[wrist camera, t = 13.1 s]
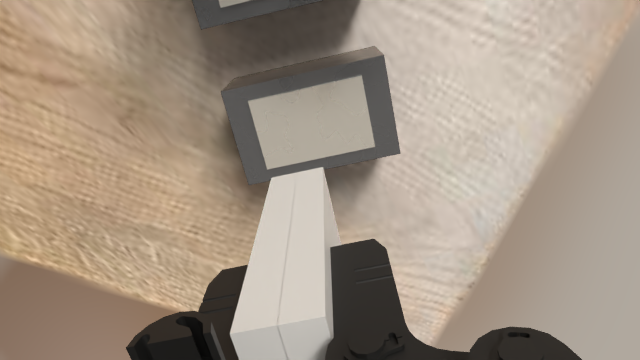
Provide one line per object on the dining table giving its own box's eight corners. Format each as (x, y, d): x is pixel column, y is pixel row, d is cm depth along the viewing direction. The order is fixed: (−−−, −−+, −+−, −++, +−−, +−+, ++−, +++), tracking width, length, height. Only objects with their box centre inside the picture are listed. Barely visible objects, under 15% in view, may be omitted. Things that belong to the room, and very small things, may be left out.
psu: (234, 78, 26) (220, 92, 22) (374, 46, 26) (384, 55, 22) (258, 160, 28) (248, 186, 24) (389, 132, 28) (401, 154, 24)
